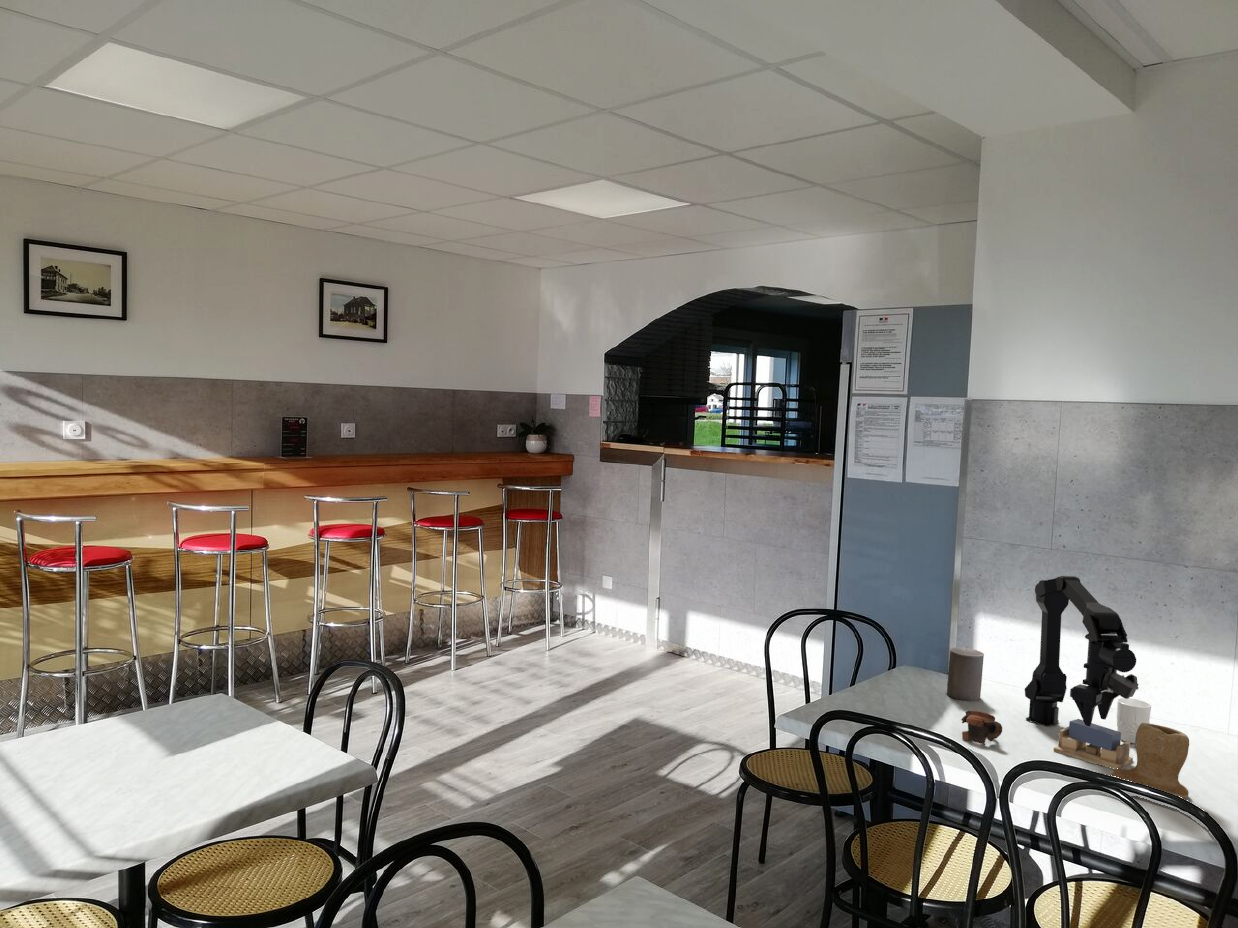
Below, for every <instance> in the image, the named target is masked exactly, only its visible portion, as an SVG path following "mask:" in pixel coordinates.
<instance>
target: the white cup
mask: <svg viewBox="0 0 1238 928" xmlns="http://www.w3.org/2000/svg"><path fill="white" fill-rule="evenodd" d="M1116 703H1117V704H1116V708H1117V709H1116V726H1117V729H1116V731H1118V732H1121V741H1123V742H1129V743H1130V744H1135V745H1136V742H1135V738H1136V732H1137V730H1138V728H1139V726H1140V724H1142V723H1150V718H1151V713H1152V712H1151V711H1152V704H1151V703H1149V702H1147V701H1144V700H1141V699H1137V698H1131V697H1129V698H1128V699H1125V698H1123V697H1120V698H1117V702H1116Z"/></svg>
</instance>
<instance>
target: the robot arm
mask: <svg viewBox="0 0 1238 928" xmlns="http://www.w3.org/2000/svg"><path fill="white" fill-rule="evenodd" d="M1034 593H1035V601H1036V603H1037V605H1038V607H1039V609H1040V610H1041V626H1040V627H1041V631H1040V649H1039V651H1040V652H1039V663H1038V665H1037V666H1036V667H1035V669H1034V670H1033V672H1032V677H1031V681H1030V682H1029V683H1028V684H1027V685H1026V687H1025V688H1024V696H1025V698H1027V699H1028V700H1029V709H1028V711H1029V712H1028V716H1027V717H1025V720H1026V721H1028V722H1033V723H1036V724H1040V725H1043V726H1047V727H1051V726H1053V725H1055V724H1058V723H1059V710H1060V707H1059V706H1058V703H1063V702H1064V699H1065V695H1066V693H1067V689H1068V688H1067V678H1068V676H1067V674H1066V673H1064V672H1063V670H1062V669H1061V667H1060V659H1061V658H1060V657H1061V655H1060V653H1061V638H1062V637H1061V635H1062V634H1061V632H1062V631H1061V630H1062V615H1063V612H1064V611H1065V610H1066V609H1067V607H1068V606H1069V602H1071V603H1072V605H1073V606H1074V607H1075V608H1076V609H1077V610H1078V611H1079V613H1080V614H1081V615H1082V620H1081V621H1082V624H1083V626H1084V628H1085V629H1086V630H1087V633H1086V634H1085V635H1084V638H1085V639H1086V640H1088V643H1087V644H1088V645H1087V646H1088V647H1087V660H1086V662H1085V663H1083V669H1086V673H1085V678H1084V679H1082V684H1080V683H1079V684H1078V685H1075V686H1073V687H1071V688H1070V689H1069V697H1070V698H1071V699H1072V700H1073V701H1074V703H1075V705H1076V707H1077V709H1078V712H1079V714H1080V716H1081V719H1082V720H1083V721H1084V723H1085V725H1086V726H1089V727H1090V726H1091V723H1093V718H1094V714H1095V709H1096V707H1097V709H1098V713H1099V716H1100V719H1101V720H1106V719H1107V718H1108V715H1109V712H1110V709H1111V707H1112V704H1113V702H1114V700H1115V699H1116V698H1118V697H1119V696H1120V698H1125V699H1128V698H1131V697H1132V698H1133V697H1134V694H1135V693H1136V691H1138V690H1139V683H1138V677H1137V676H1136V675H1135V674H1133V673H1131V674H1128V675H1126V676H1125V675H1124V674H1119V673H1128V672H1130V671H1132V670H1133V669H1134V668H1135V666H1136V664H1137V657H1136V654H1135V653H1134V651H1133V650H1131V649H1130V644H1129V643H1128V637H1127V636H1128V634H1127V632H1126V630H1125V627H1124V625H1123V622H1122V619H1121V617H1120V615H1119V613H1117V611H1115V610H1114V609H1112V608H1111V607H1108V606H1106V605H1103V604H1101V603H1100V602H1099V601H1097V599H1096V598H1095V597H1094V596H1093V595H1092V594H1091V593H1090V592H1089V591H1088V590H1087V588H1086V587H1085V586H1084V585H1083V584H1082V582H1081V579H1080V578H1079V577H1077V576H1074V575H1060V576H1058V577H1055V578H1050V579H1047V580H1046V579H1041V580H1039V582H1038V583H1036V584H1035V587H1034ZM1118 672H1119V673H1118Z"/></svg>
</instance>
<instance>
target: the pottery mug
mask: <svg viewBox="0 0 1238 928" xmlns="http://www.w3.org/2000/svg"><path fill="white" fill-rule="evenodd" d="M960 720H961V721H962V722H961V723H962V724H965V723H966V724H967V730H965V731H964V730H963V731H962V733H961V735H962V736H961V737H962V738H961V739H962V741H971V742H974V743H977V744H981V745H985V744H986V740H988V741H989V742H994V740H995V739H997V738H999V737H1000V736H1001V734H1002V733H1003V726H1002V723H1000V722H999V721H996V717H995V716H994V715H992V714H989V713H987V712H983V711H980V710H979V711H978V710H966V711H965V715H964V716H963V717H962V718H961V719H960Z"/></svg>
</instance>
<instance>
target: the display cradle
mask: <svg viewBox="0 0 1238 928" xmlns="http://www.w3.org/2000/svg"><path fill="white" fill-rule="evenodd" d="M1058 731H1059V733H1058V745H1057V746H1056V747H1053V751H1054V753H1055V752H1056V753H1059V754H1062V755H1066V756H1069V757H1072V758H1074V759H1078V760H1081V759H1082V761H1085V762H1088V763H1091V762H1092V763H1091V764H1095V765H1098V764H1099V765H1098V766H1101V765H1102V766H1101V767H1104V766H1105V768H1108V767H1111V768H1114V769H1117V768H1120V767H1121V768H1123V767H1125V766H1126V765H1128V764H1130V763H1133V761H1134V760H1133V759H1134V758H1133V757H1132V756H1130V749H1131V748H1130V747H1131V743H1129V742H1126V741H1124V743H1122V744H1121V743H1120V745H1119V746H1118V747H1117V749H1116V750H1113V751H1110V750H1107V749H1104V748H1101V747H1098V746H1095V745H1092V744H1089V743H1086V742H1083V741H1080V740H1077V739H1074V738H1071V737H1068V736H1069V726H1066V727H1064V728H1062V729H1059V730H1058ZM1111 768H1110V769H1111ZM1114 769H1113V770H1114Z"/></svg>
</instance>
